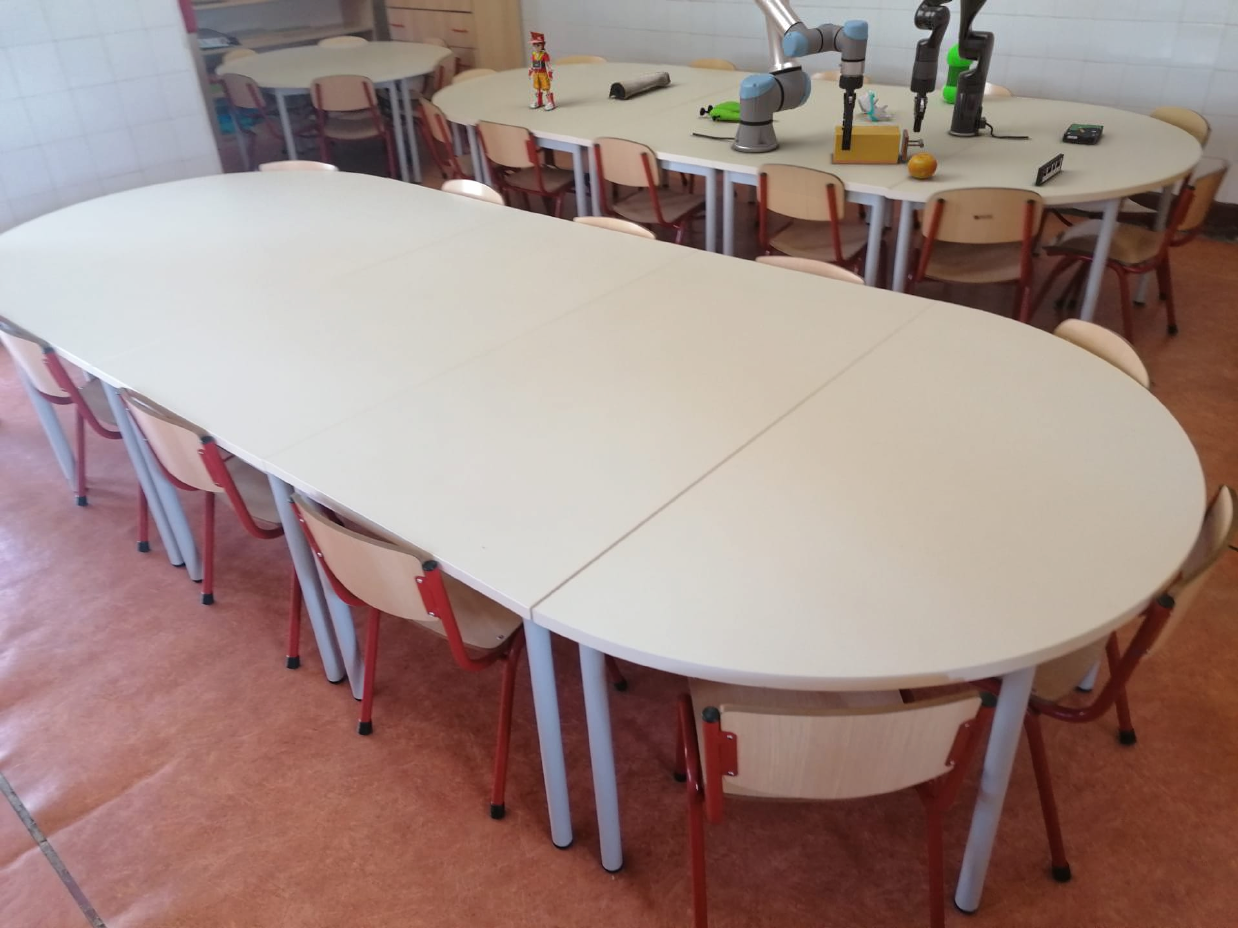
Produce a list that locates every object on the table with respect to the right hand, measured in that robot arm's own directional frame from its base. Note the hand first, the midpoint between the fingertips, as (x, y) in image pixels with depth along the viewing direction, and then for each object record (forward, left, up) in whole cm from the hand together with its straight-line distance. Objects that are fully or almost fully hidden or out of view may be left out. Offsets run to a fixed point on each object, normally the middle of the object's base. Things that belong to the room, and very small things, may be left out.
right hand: (916, 132), depth 292 cm
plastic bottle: (-20, -77, -9) cm, 80 cm away
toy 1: (+148, -71, -9) cm, 164 cm away
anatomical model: (+12, -54, -9) cm, 56 cm away
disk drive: (-57, -25, -9) cm, 63 cm away
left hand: (+22, 0, -4) cm, 23 cm away
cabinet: (+16, 0, -9) cm, 18 cm away
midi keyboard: (-39, +19, -9) cm, 44 cm away
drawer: (+10, 0, -8) cm, 12 cm away
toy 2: (+62, -53, -9) cm, 82 cm away
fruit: (-1, +20, -9) cm, 22 cm away
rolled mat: (+110, -98, -9) cm, 148 cm away
